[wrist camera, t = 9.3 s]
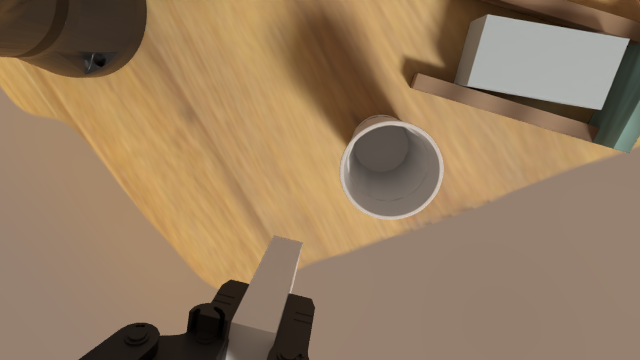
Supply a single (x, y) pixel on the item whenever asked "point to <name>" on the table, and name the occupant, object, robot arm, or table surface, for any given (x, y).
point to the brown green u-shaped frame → (604, 127)
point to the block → (540, 61)
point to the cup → (390, 168)
